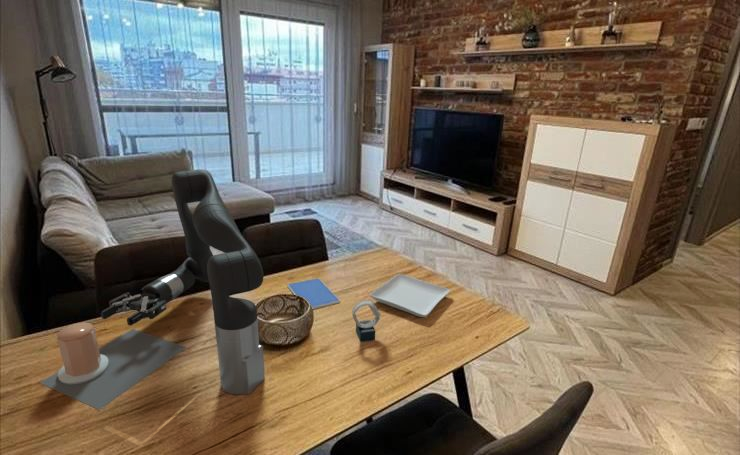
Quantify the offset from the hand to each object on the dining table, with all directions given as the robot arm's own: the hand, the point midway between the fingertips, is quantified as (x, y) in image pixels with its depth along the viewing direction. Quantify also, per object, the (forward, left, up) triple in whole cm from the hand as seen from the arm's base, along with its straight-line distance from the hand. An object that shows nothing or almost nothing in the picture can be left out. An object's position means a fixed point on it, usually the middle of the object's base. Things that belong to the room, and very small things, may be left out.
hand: (115, 319), depth 102 cm
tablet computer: (-31, -48, -10) cm, 58 cm away
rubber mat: (-6, +5, -9) cm, 12 cm away
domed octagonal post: (-1, +10, -7) cm, 12 cm away
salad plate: (-63, -59, -9) cm, 87 cm away
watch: (-57, -33, -9) cm, 66 cm away
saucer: (-1, +10, -8) cm, 13 cm away
